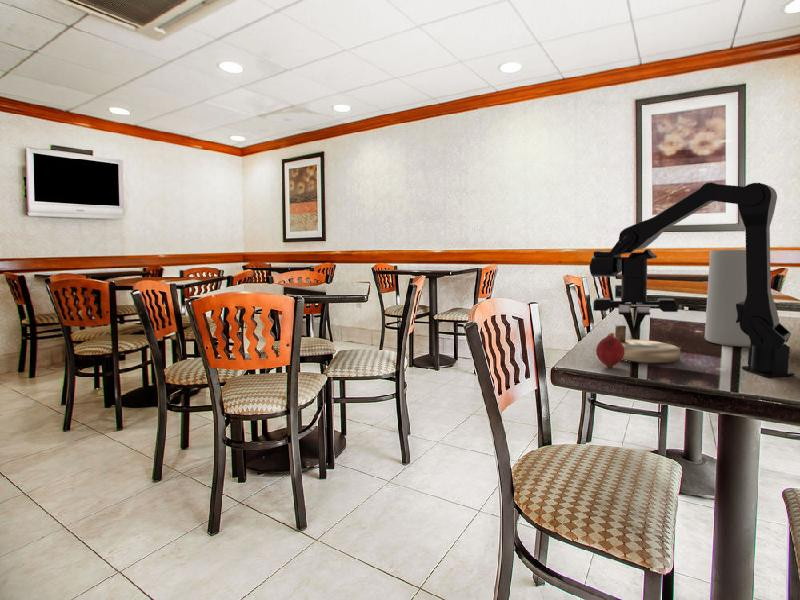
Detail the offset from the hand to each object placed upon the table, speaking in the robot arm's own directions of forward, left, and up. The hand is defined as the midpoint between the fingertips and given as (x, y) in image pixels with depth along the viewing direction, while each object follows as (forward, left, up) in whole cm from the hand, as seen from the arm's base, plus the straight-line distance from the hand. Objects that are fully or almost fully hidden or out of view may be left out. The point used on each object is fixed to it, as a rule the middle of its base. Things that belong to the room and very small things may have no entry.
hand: (633, 338), depth 117 cm
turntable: (-5, +1, -4) cm, 7 cm away
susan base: (-5, +1, -4) cm, 7 cm away
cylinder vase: (+6, -32, -4) cm, 33 cm away
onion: (-12, +13, -4) cm, 18 cm away
